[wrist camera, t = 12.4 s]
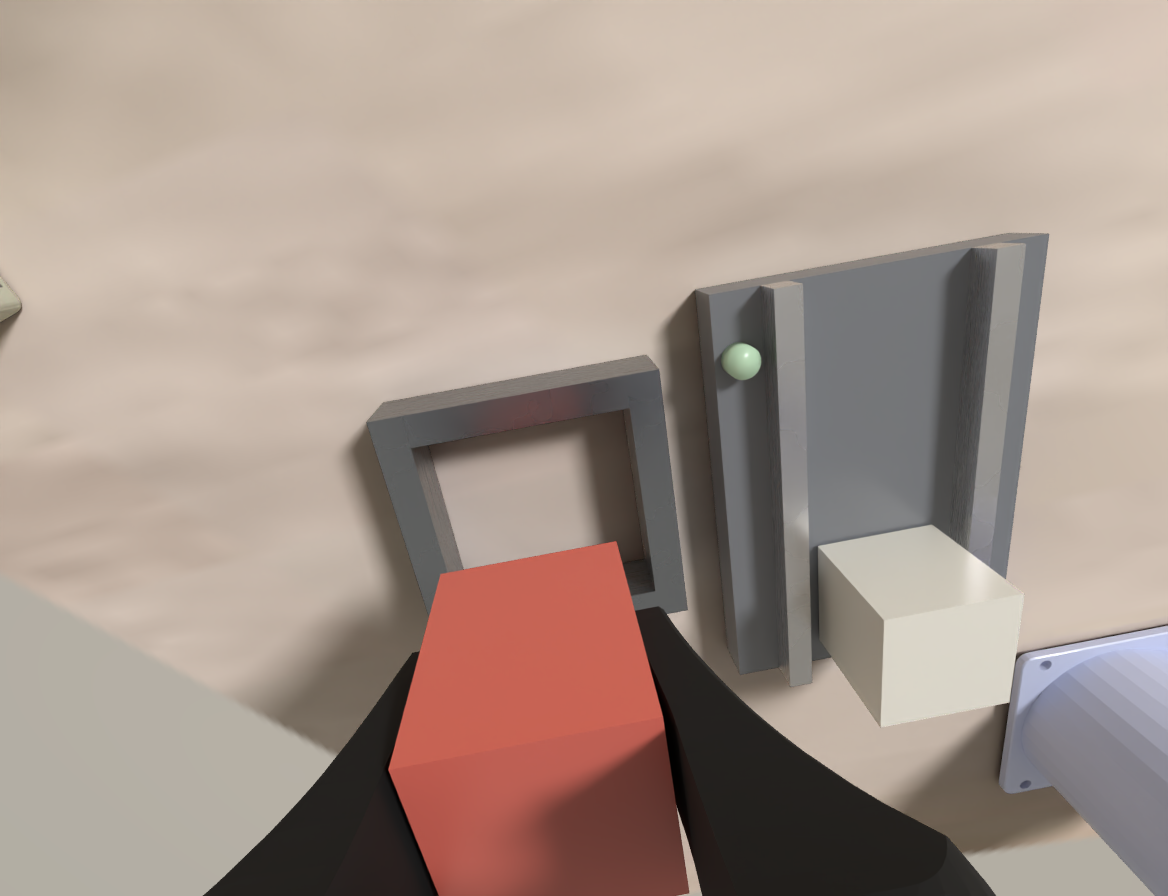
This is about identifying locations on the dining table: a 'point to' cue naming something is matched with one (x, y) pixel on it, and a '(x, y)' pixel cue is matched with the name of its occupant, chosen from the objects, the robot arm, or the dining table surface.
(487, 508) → the dining table surface
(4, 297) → the skincare box
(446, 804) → the red block
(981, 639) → the block
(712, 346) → the breaker panel
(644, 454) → the grey square frame
